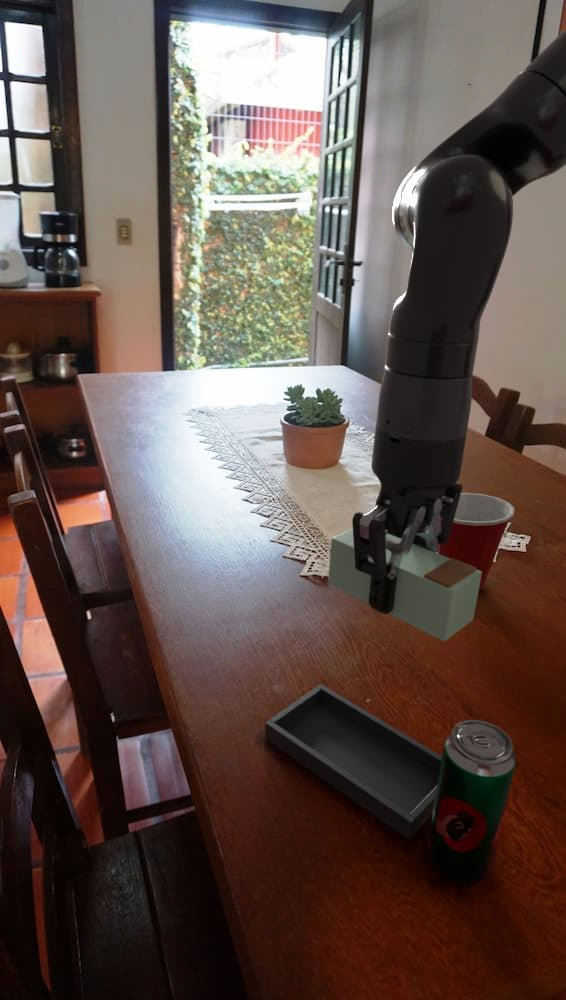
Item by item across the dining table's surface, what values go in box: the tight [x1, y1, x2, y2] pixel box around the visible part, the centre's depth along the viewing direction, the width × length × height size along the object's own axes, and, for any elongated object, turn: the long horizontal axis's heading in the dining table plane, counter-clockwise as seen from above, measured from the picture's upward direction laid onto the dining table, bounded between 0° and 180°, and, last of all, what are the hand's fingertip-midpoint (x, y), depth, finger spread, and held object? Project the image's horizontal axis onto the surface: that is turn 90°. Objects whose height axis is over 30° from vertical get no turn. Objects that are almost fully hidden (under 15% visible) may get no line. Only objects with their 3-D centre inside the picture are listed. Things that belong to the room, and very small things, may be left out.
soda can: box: [426, 719, 517, 885], centre depth 51 cm, size 5×5×12 cm
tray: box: [264, 683, 442, 841], centre depth 62 cm, size 8×16×2 cm, turn 47°
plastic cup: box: [437, 492, 515, 593], centre depth 92 cm, size 11×11×12 cm
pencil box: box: [327, 528, 482, 642], centre depth 63 cm, size 13×5×5 cm, turn 47°
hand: (398, 597), depth 64 cm, fingers closed on pencil box, 5 cm apart
